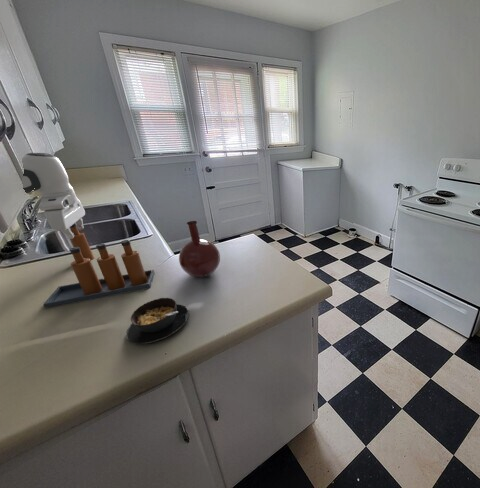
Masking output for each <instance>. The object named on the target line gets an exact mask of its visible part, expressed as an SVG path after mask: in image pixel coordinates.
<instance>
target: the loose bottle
mask: <svg viewBox="0 0 480 488" xmlns="http://www.w3.org/2000/svg"><path fill="white" fill-rule="evenodd" d="M76 226H77V225H76V222H75V223H74V224H73V225H72V226H70V231H71V232H72V233H74V235H75V237H74V238H73V239H69V241H70V243H71V245H72V248H74V247H79V248H80V250H81V254H82V256H83V258H89V259H90V261H92V260H94V259H95V256H94V254H93V252H92V249H91V246H90V244H89V242H88V240H87V238H86V235H85V232H82V231H81V232H79V231H80V230H78V229H77V227H76Z"/></svg>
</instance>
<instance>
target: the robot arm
mask: <svg viewBox="0 0 480 488" xmlns="http://www.w3.org/2000/svg"><path fill="white" fill-rule="evenodd" d="M21 158H22V163H23V168H24V174H23V178H22V184H23V189H24V190H25V192H26V193H27V194H29V193H32V192H36V191H37V192H39V193H40V195H41V200H40V202H39V203H38V208H39V210H40V211H41V212H42V211H43V215H44V217H45V219H46V221H47V223H48V225H49V227H50V228H51V229H52V231H54V232H61V233H63V234H64V235H65V237H66V238H67V239H68V240H70V239H73V238H74V237H75V235H74V233H72V232H71V230H70V226H72V225H73V224H74V223H76V225H77V226H76V227H77V229H78V231H83V230H84V229H85V226H84V223H83V221H84V220H83V217H84V216H85V215H86V210H85V208H84V206H83V204H82V202H81V200H80V199H79V198H78V197H77V195H76V192H75V190H74V188H73V186H72V185H71V184H70V180H69V176H68V172H66V171H67V170H66V168H65V167H64V166H63V165H64V164H63V163H62V162H61V161H60V159H59V158H58V157H57V156H56V155H54V154H52V153H51V154H50V153H45V152H28V153H26V154H25V155H24V156H22V157H21ZM34 188H35V189H34ZM32 190H34V191H32ZM31 191H32V192H31Z"/></svg>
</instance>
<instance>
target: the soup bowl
mask: <svg viewBox="0 0 480 488" xmlns="http://www.w3.org/2000/svg"><path fill="white" fill-rule="evenodd" d="M189 317H190V311H189V309H188V307H186V306H185V305H182V304H179V303H177V302H176V300H175V299H173V298H171V297H160V298H156V299H152V300H149V301H148V302H146V303H143V304H142V305H140V306H139V307H137V309H135V310H134V311H133V312H132V314H131V316H130V322H131V323H130V324H129V326H128V328H127V329H126V339H127V340H128V341H129V342H131V343H133V344H139V345H144V344H153V343H156V342H159V341H161V340H164V339H166V338H168V337H170V336H172V335H173V334H175V333H177V332H178V331H179V330H180V329H181V328H182V327H183V326H184V325H185V323H186V322H187V321H188V320H189Z"/></svg>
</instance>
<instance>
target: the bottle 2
mask: <svg viewBox="0 0 480 488" xmlns="http://www.w3.org/2000/svg"><path fill="white" fill-rule="evenodd" d="M95 248H96V250H97V251H98V253H99V257H97V258H96V263H97V265H98V267H99V269H100V272H101V274H102V276H103V279H105V281H106V284H107V286H108V288H109V290H115V289H121V288H123V287H124V286H125V282H124V279H123V276H122V275H123V274H122V271H121V268H120V266H119V264H118V261H117V258H116V256H115V254H109V252H108V249H107V246H106V243H105V242H101V243H97V244H96V245H95Z"/></svg>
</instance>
